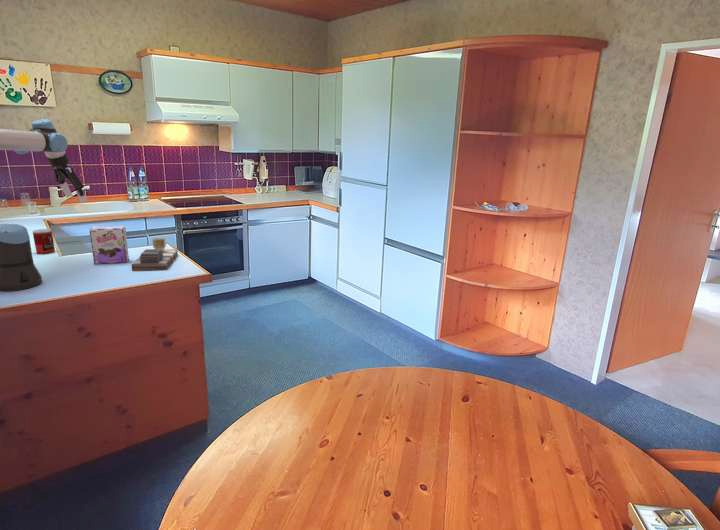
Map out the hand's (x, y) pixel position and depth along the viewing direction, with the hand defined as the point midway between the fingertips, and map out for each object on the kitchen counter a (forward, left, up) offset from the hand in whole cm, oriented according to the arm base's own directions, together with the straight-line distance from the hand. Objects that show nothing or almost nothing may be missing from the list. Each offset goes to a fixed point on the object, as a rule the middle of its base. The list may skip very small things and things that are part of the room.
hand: (76, 199), depth 213 cm
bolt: (-10, -36, -24) cm, 45 cm away
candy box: (-13, -16, -28) cm, 35 cm away
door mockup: (-16, -36, -27) cm, 48 cm away
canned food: (+9, +21, -28) cm, 36 cm away
